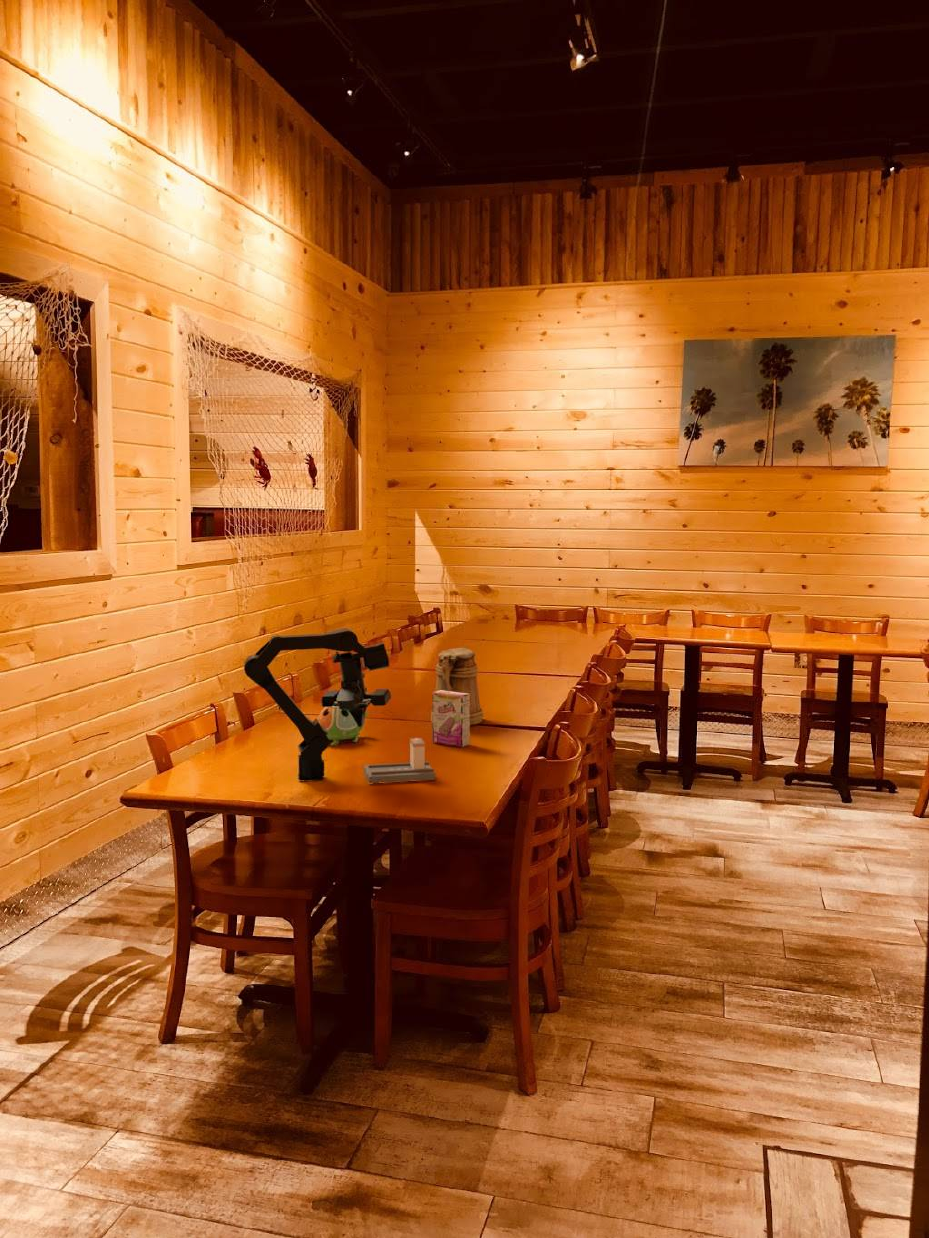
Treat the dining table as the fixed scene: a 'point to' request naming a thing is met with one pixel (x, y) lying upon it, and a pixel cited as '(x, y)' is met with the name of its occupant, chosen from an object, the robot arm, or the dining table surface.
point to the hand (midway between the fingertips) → (360, 726)
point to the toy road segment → (397, 772)
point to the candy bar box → (451, 718)
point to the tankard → (460, 678)
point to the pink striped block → (417, 753)
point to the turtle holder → (339, 724)
